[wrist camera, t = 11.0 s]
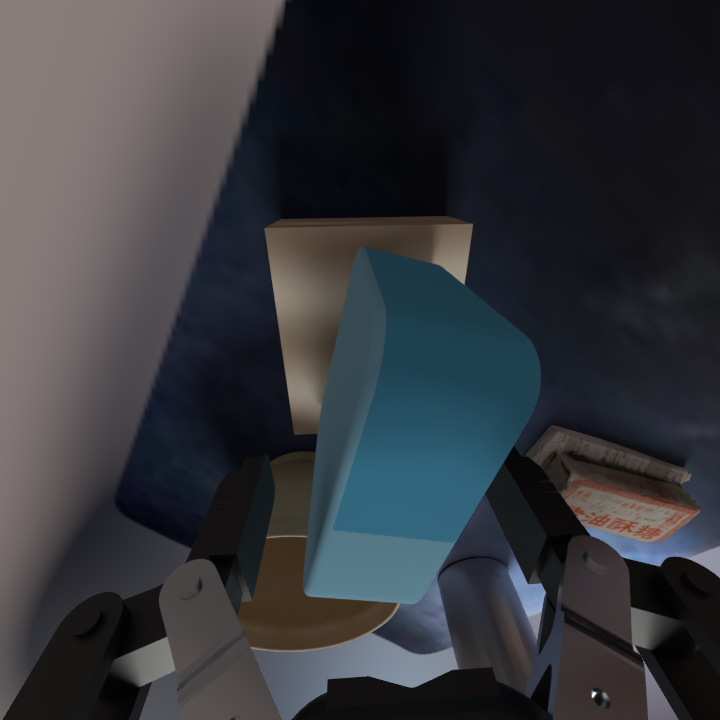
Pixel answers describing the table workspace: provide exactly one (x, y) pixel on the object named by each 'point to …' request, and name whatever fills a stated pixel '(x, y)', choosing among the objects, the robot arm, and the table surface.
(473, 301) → the blue product box
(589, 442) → the packaged product
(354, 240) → the stand
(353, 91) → the table surface
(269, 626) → the planter bowl
